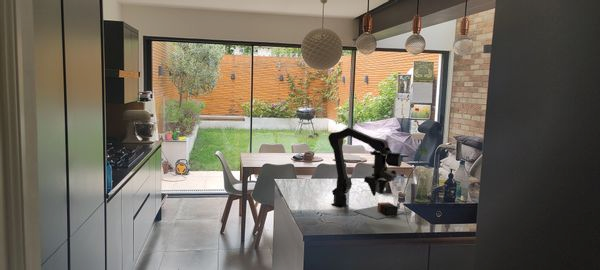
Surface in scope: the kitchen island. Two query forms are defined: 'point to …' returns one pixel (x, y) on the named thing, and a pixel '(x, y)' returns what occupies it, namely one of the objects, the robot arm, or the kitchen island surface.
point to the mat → (373, 212)
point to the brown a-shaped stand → (387, 187)
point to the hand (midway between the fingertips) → (377, 194)
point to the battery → (387, 209)
